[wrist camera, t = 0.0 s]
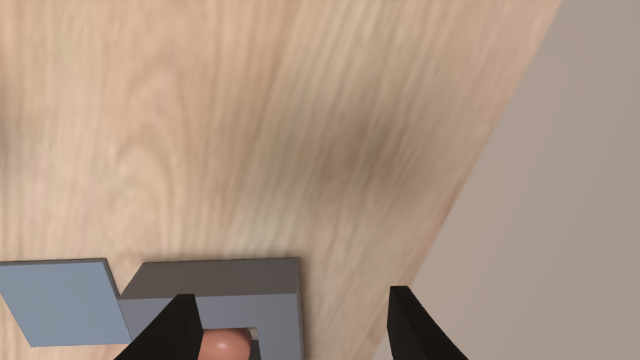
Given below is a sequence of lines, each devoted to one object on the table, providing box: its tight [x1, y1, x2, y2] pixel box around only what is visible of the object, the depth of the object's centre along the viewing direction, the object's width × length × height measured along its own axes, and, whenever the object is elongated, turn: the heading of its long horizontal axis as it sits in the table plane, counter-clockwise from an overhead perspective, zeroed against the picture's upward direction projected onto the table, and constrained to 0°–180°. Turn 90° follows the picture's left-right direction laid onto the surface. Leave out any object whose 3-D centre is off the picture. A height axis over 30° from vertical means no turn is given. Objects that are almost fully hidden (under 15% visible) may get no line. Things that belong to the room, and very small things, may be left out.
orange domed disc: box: [198, 328, 252, 360], centre depth 24 cm, size 4×4×1 cm
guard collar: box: [117, 258, 305, 360], centre depth 25 cm, size 11×11×4 cm
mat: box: [0, 259, 132, 347], centre depth 25 cm, size 8×8×1 cm
